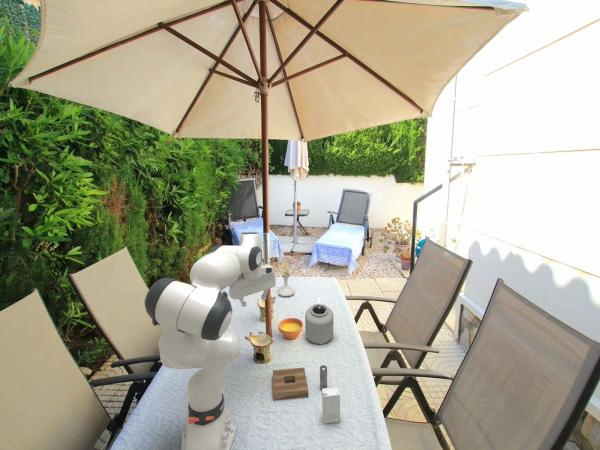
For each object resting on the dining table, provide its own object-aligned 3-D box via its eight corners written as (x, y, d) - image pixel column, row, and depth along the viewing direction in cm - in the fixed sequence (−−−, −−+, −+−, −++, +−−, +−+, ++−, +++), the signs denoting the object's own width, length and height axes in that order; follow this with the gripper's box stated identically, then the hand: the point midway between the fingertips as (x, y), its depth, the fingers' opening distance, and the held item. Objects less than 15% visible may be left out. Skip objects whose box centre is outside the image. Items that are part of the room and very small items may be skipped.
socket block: (308, 397, 131) (308, 389, 130) (273, 400, 130) (273, 393, 129) (304, 374, 145) (304, 367, 144) (273, 377, 143) (272, 370, 143)
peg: (327, 390, 134) (327, 369, 132) (320, 391, 134) (320, 370, 132) (326, 385, 137) (326, 365, 135) (319, 386, 137) (319, 365, 135)
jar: (335, 350, 162) (335, 304, 156) (305, 350, 162) (304, 304, 156) (331, 330, 180) (331, 288, 175) (305, 330, 180) (304, 288, 175)
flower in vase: (276, 292, 230) (275, 259, 225) (291, 290, 234) (290, 257, 228) (281, 300, 218) (279, 264, 213) (297, 297, 222) (296, 262, 216)
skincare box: (337, 413, 123) (337, 385, 120) (340, 423, 118) (340, 394, 116) (321, 415, 122) (321, 387, 119) (323, 424, 118) (323, 396, 115)
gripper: (232, 279, 122) (235, 313, 125) (277, 266, 134) (278, 297, 137) (224, 275, 126) (227, 307, 129) (268, 263, 139) (270, 293, 142)
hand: (254, 302), depth 133 cm, fingers open, 8 cm apart
